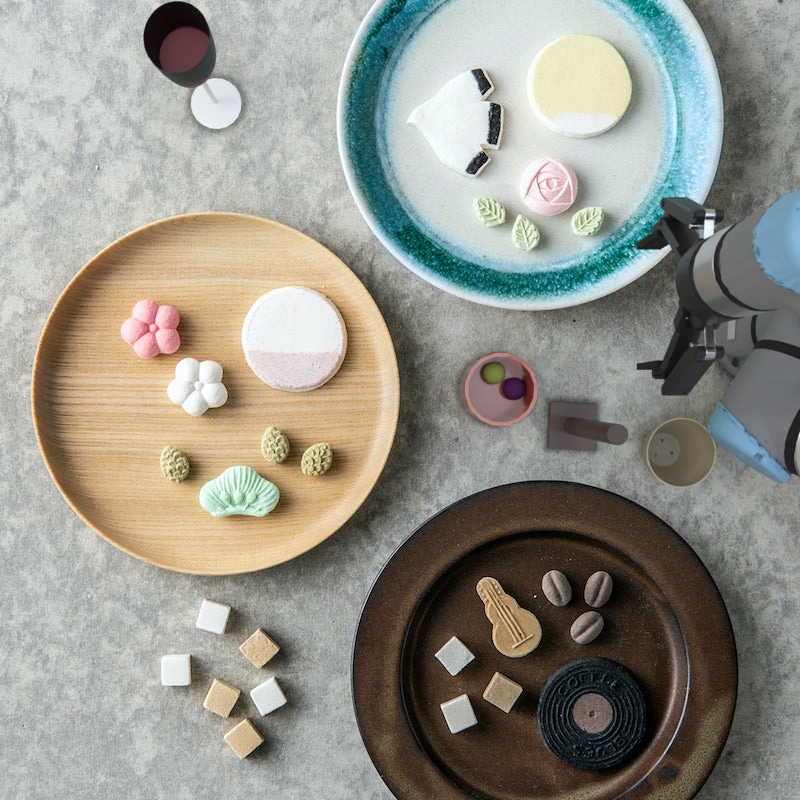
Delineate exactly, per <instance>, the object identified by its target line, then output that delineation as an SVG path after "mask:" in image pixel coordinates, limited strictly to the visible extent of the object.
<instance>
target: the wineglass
mask: <svg viewBox="0 0 800 800" xmlns="http://www.w3.org/2000/svg"><path fill="white" fill-rule="evenodd" d="M142 42H143V48H144V51H145V53H146V56H147V57H148V59H149V60H150V61H151V63H152V64H153V66H154V67H155V68H156V69H157V70H158V71H159V72H160V73H161V74H162V75H163V76H164V77H165V78H167V79H168V80H170V82H172V83H174V84H175V85H177V86H179V87H182V88H184V89H185V88H187V89H194V91H193V93H192V95H191V99H190V108H191V111H192V115H193V116H194V118H195V119H196V121H197V122H198V123H200V124H201V125H202V126H204V127H206V128H208V129H212V130H213V129H214V130H220V129H225V128H227V127H229V126H231V125H232V124H234V122H235V121H236V120H237V119H238V117H240V113H241V111H242V101H243V100H242V97H241V93H240V92H239V90H238V89H237V87H236V85H234V84H233V83H231V82H230V81H229V80H226V79H224V78H220V77H219V78H216V77H213V78H211V76H212V75H213V73H214V70H215V67H216V64H217V48H216V44H215V40H214V36H213V34H212V30H211V28H210V26H209V23H208V21H207V19H206V16H205V15H204V14H203V12H201V10H200V9H199V8H198V7H196V6H195V5H193V4H191V3H190V2H186V1H182V0H173V1H168V2H165V3H163V4H161V5H159V6H158V7H157V8H156V9H154V10H153V12H151V14H150V16H149V17H148V18H147V21H146V22H145V25H144V28H143V34H142Z"/></svg>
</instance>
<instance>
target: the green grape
mask: <svg viewBox="0 0 800 800" xmlns="http://www.w3.org/2000/svg"><path fill="white" fill-rule="evenodd" d="M505 376H506V370H505V368H504V366H503V365H502V364H501V363H499V362H496V361H493V362H489V363H488V364H486V365H485V367H484V369H483V377H484V379H485V381H486V382H488V383H489V384H499V383H501V382H502V381H503V380H504V378H505Z"/></svg>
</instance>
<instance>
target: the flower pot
mask: <svg viewBox="0 0 800 800" xmlns="http://www.w3.org/2000/svg"><path fill="white" fill-rule="evenodd" d="M642 457H643V461H644V464H645V466H646V468H647V469H648V471H649V472H650V473H651V475H652V476H653V477H654V478H655V479H656V480H657V481H658V482H660V483H662V484H663V485H665V486H668V487H671V488H674V489H689V488H692V487H695V486H697V485H699V484H701V483H703V482H704V481H705V480H706V479H707V478H708V477H709V476H710V474H711V473H712V472H713V469H714V467H715V464H716V460H717V445H716V441H715V440H714V439H713V438H712V437H711V436H710V434H709V432H708V427H706V426H705V425H704V424H702V423H701V422H699V421H697V420H696V419H692V418H689V417H675V418H669V419H668V420H665V421H661V423H659V424H657V425H655V427H653V428H652V429H651V430H650V431H649V433H648V434H647V435H646V436H645V439H644V442H643V446H642Z"/></svg>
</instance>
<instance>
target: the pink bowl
mask: <svg viewBox="0 0 800 800" xmlns="http://www.w3.org/2000/svg"><path fill="white" fill-rule="evenodd" d="M493 361H496V362H499V363H501V364H502V365H503V366H504V368H505V370H506V376H505V378H504V380H503V381H502V382H501V383H499V384H489V383H488V382H486V381H485V379H484V377H483V369H484V367H485V365H486V364H488V363H489V362H493ZM512 377H516V378H519V379H521V380H522V381H523V382H524V383H525V386H526V392H525V394H524V396H523V397H522V398H521V399H519V400H510V399H508V398H506V397H505V395H504V393H503V384H504V382H505V381H506V380H507V379H509V378H512ZM458 389H459V398H460V401H461V403H462V407H463V408H464V409H465V410H466V412H467V414H469V415H470V416H471V417H472V418H473V419H475V420H477V421H479V422H481V423H483V424H487V425H490V426H491V427H509V426H512V425H514V424H517V423H520V422H522V421H523V420H524V419H525V418H526V417H528V416H529V414H531V413H532V412H533V410H534V407H535V405H536V403H537V400H538V398H539V382H538V380H537V376H536V374H535V371H534V369H533V368H532V367H531V366H530V365H529V363H527V361H526V360H525V359H523V358H522V357H519V356H517V355H515V354H513V353H510V352H494V353H490V354H488V355H485V356H483V357H482V356H481V357H479V358H477V359H474V361H473V362H471V363H470V365H468V366H467V368H466V369H465V370H464V372H463V374H462V376H461V379H460V381H459V388H458Z"/></svg>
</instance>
